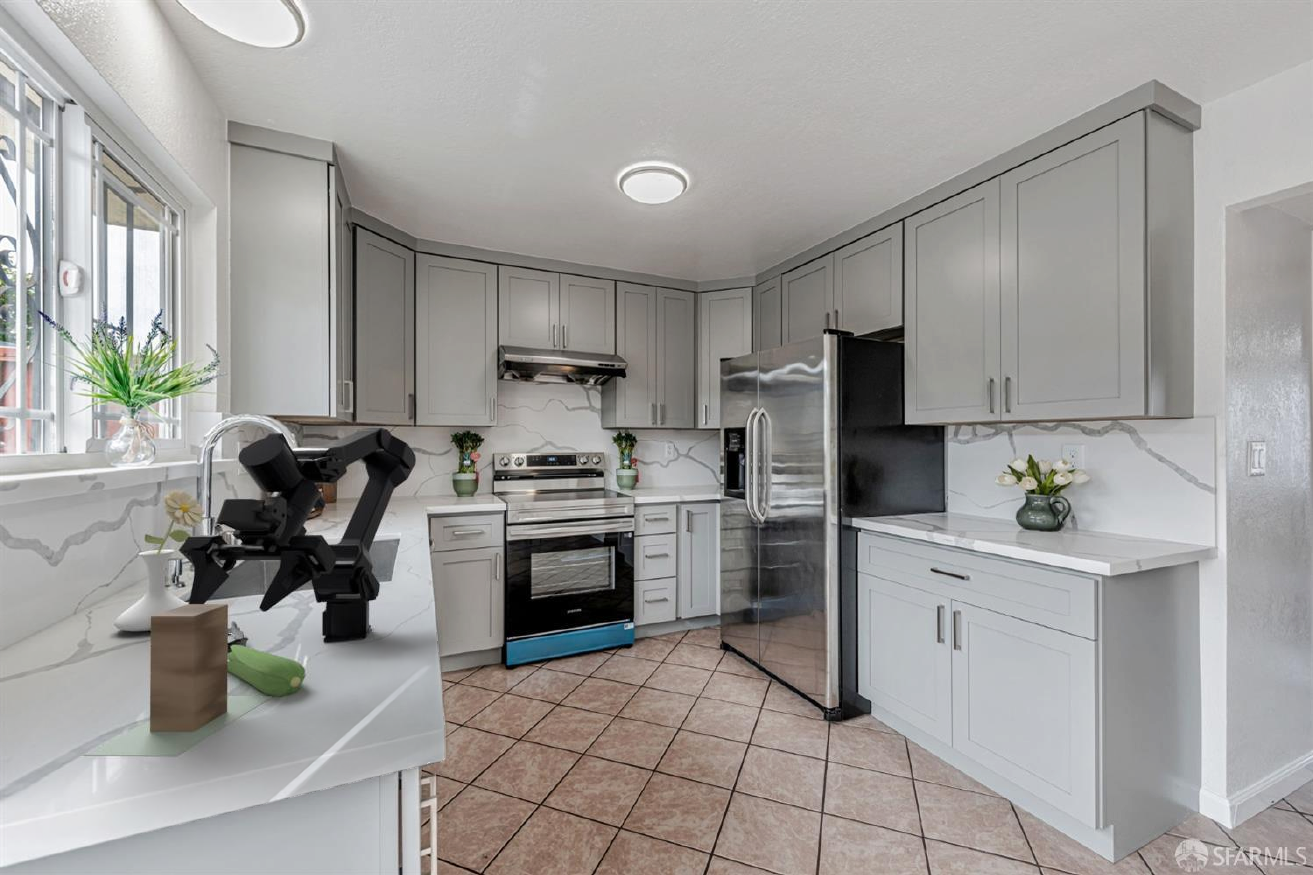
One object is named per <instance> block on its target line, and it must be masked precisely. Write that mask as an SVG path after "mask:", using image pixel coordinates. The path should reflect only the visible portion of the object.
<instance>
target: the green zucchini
mask: <svg viewBox="0 0 1313 875" xmlns="http://www.w3.org/2000/svg"><path fill="white" fill-rule="evenodd" d="M230 647H231V649H232V652H230V653H228V671H227V672H229V673H230V674H233V675H235V676H236V677H238V678H239V679H241V680H243V681H245V682H246V683H247V684H250V685H251V686H253V687H254V688H256V689H257V690H259V691H260V692H262V693H264V694H265V695H267V696H273V697H284V696H287V695H290V694H293V693H295V692H297V691H298V689H300V687H301V686H302V684H303V682H304V680H305V678H306V675H307V674H306V669H305V668H304V666H303V665H302V664H301V663H300V662H298V661H297V660H293V659H290V658H286V657H283V656H278V655H277V654H276V655H275V654H272V653H268V652H264V651H261V650H257V649H254V648H250V647H248V646H246V647H245V646H242V645H232V646H230Z"/></svg>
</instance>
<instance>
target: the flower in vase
mask: <svg viewBox="0 0 1313 875" xmlns="http://www.w3.org/2000/svg"><path fill="white" fill-rule="evenodd" d="M163 502H164V505H163V506H164V508H165V510H166V511H165V513H166V515H167V516H169V517H170V519H171V523H170V525H169V528H168V531H167V532H166V535H165V537H164V538H163V537H156V536H154V535H153V536H152V535H149V534H147V533H145V535H144V542H146V543H147V544H155V545H160V546H159V548H158V549H156V550H155V549H154V550H148V551H142V552H139V553H138V555H139V557H141V558H142V560H143V561H144V562H145V565H146V568H147V572H148V573H147V574H148V586H147V590H146V592H145V594H144V595H143V597H141V598H140V599H139V600H138V601H136V602H135V603H134V604H133V605H131V606H130V607H128V608H127V609H126V610H125V611H123V613H122V612H121V614H120V615H119V616H118V617H117V618H116V619H115V621H114V624H113V625H114V627H115V628H116V629H118V630H120V631H126V632H147V631H151V616H153V615H156V614H159V613H162V612H165V611H168V610H172V609H175V608H178V607H181V606H184V605H187V604H189V602H186V601H185V600H182V599H180V598H178V597H177V596H174V595H172V593H170V592H168V590H167V588H166V581H165V579H166V577H165V576H166V570H167V564H168V562H169V559H170V557H171V556H172V555H173V554H174V552H175V550H174V549H163V547H164V545H165V543H166V542H167V539H168V537H170V538H171V539H172V540H174V541H176V542H178V543H184V542H185V541H186V539H187V538H188V537H190V536H191V534H190V533H189V532H187V531H185V530H183V529H179V528H176V529H175V530H174V529H173V530H172V528H173V525H174V524H177V525H179V524H180V525H182V526H183V527H189V528H196V527H197V525H198V524H197V523H199V524H201V523H202V522H203V521H204V516H202V515H204V514H205V511H204V510H203V509H202V506H201V505H200V504H199V503H198V502H199V501H198V499H196V498H192V495H190V493H188V492H186V491H184V490H181V491H180V492H179V491H178V490H176V489H174V490H173V491H171V492H169V495H168V494H166V495H165V496H164V499H163Z"/></svg>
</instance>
